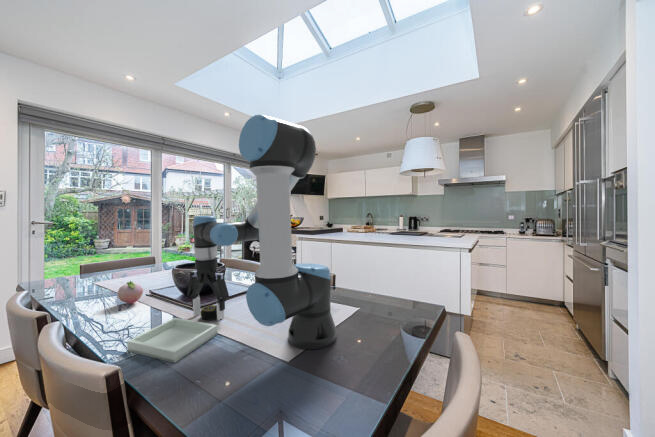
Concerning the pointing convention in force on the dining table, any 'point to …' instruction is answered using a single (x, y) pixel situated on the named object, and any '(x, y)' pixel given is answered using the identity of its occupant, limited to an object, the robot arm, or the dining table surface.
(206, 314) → the tape measure
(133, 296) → the decorative fruit
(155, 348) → the tray
